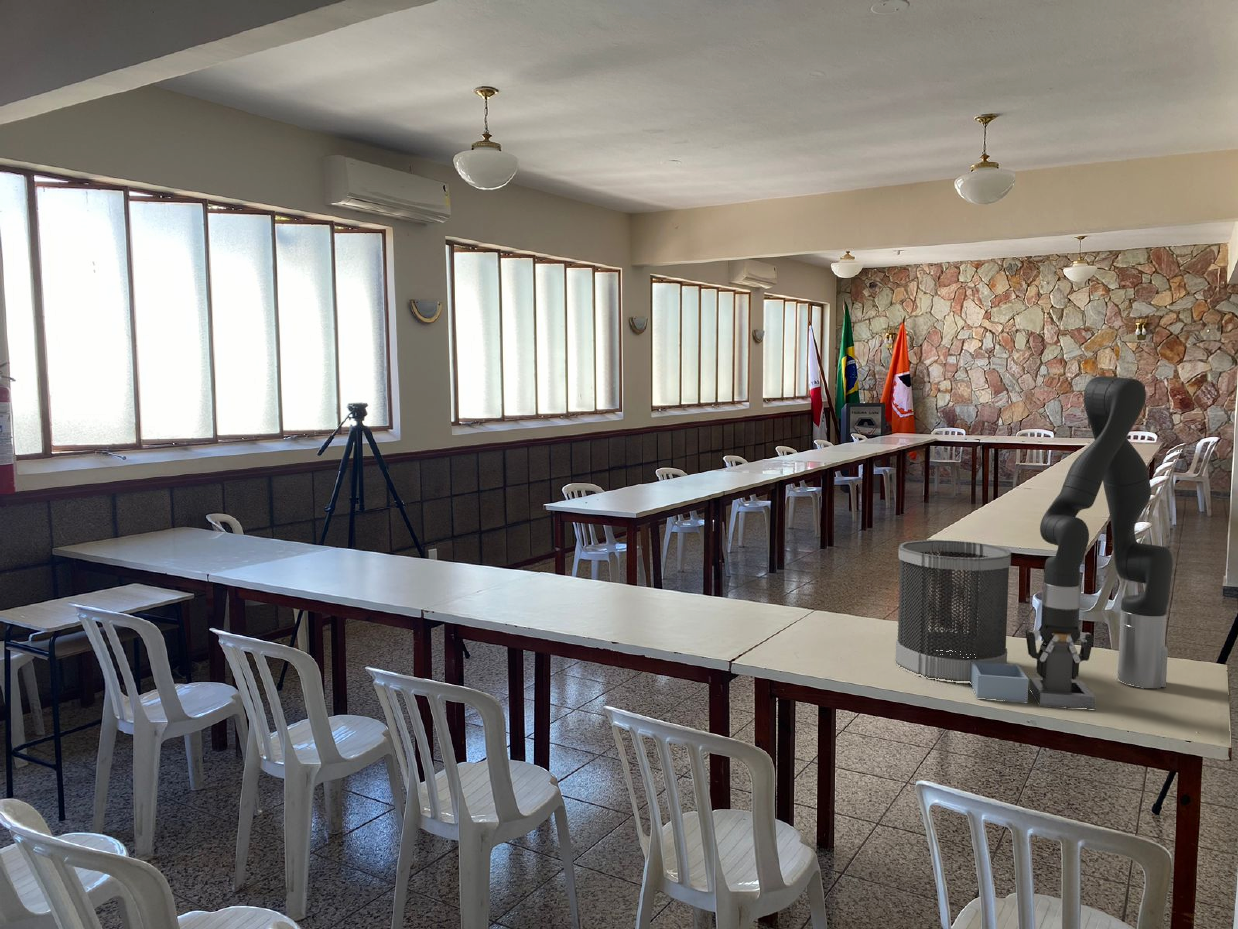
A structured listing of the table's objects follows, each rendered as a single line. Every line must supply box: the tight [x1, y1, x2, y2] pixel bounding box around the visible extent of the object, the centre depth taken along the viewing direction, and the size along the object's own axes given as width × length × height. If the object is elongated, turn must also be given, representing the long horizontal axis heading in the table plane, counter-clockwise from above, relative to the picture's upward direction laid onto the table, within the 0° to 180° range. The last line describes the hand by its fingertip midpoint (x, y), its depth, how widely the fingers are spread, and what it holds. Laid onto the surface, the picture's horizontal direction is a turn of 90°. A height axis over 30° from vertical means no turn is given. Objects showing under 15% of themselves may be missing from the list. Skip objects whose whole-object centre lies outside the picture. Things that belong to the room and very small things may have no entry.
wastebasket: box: [895, 539, 1012, 681], centre depth 220 cm, size 25×25×30 cm
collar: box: [1028, 676, 1097, 710], centre depth 197 cm, size 11×11×3 cm
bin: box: [970, 662, 1029, 703], centre depth 201 cm, size 10×10×6 cm
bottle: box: [1042, 633, 1073, 693], centre depth 198 cm, size 6×6×15 cm
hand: (1057, 677), depth 198 cm, fingers closed on bottle, 5 cm apart
